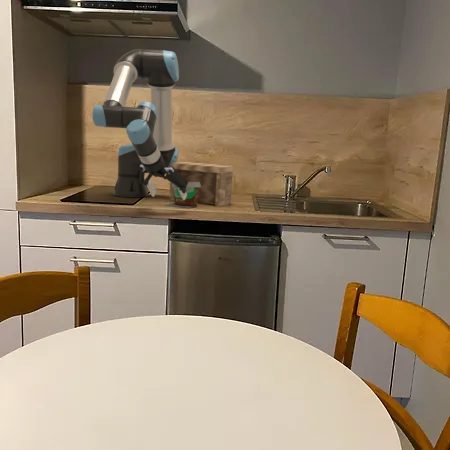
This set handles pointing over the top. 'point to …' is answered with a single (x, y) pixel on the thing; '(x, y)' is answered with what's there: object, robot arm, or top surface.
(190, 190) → the food container
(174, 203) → the grey mat
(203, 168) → the open oak shelf box
